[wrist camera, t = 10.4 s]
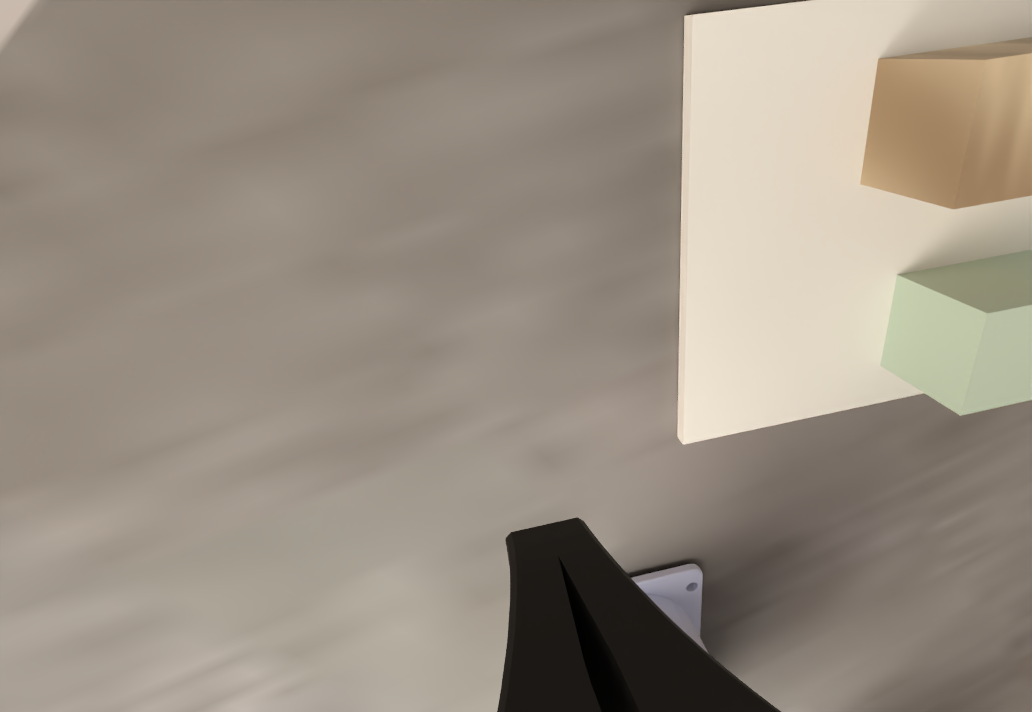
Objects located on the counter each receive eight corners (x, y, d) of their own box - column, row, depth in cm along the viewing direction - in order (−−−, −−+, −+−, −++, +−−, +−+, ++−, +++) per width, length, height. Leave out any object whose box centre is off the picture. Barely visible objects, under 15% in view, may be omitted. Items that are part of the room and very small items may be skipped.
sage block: (880, 365, 23) (1043, 331, 24) (960, 415, 20) (1145, 374, 21) (897, 274, 21) (1071, 241, 22) (987, 313, 18) (1187, 273, 19)
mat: (1066, 355, 25) (1078, 360, 25) (677, 436, 23) (683, 444, 23) (1205, -48, 19) (1224, -50, 18) (684, 15, 17) (692, 14, 16)
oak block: (859, 184, 19) (1051, 152, 20) (953, 209, 16) (1175, 170, 17) (878, 58, 18) (1086, 29, 19) (985, 59, 15) (1230, 24, 15)
